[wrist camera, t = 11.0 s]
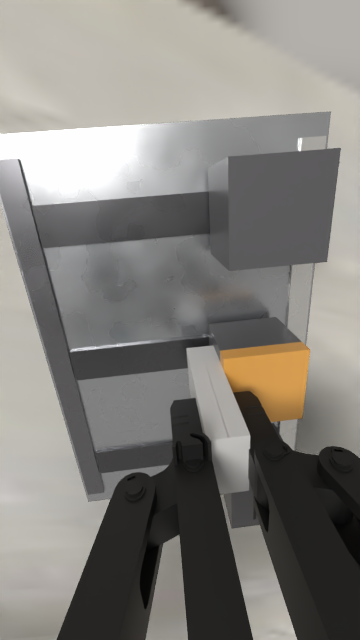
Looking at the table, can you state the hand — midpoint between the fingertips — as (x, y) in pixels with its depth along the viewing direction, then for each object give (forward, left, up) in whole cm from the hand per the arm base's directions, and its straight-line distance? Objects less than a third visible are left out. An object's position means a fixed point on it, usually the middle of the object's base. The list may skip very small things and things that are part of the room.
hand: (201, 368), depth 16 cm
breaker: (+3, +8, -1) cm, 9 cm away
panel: (-1, 0, -3) cm, 4 cm away
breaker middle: (+3, 0, -1) cm, 3 cm away
